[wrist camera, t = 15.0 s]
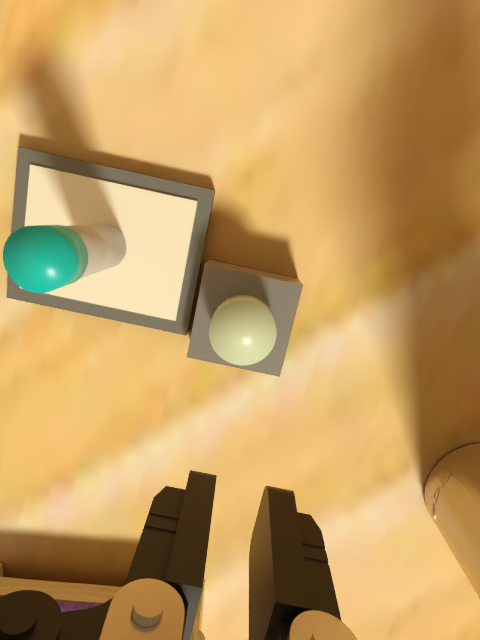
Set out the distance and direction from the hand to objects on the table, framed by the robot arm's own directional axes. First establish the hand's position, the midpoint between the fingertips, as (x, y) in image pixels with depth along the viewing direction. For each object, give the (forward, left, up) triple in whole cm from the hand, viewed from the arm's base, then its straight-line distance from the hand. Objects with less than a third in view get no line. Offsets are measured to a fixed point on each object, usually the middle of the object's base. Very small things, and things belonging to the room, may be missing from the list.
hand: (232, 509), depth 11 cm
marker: (+11, -3, -22) cm, 25 cm away
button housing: (0, 0, -23) cm, 23 cm away
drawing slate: (+11, -3, -23) cm, 26 cm away
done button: (0, 0, -20) cm, 20 cm away
